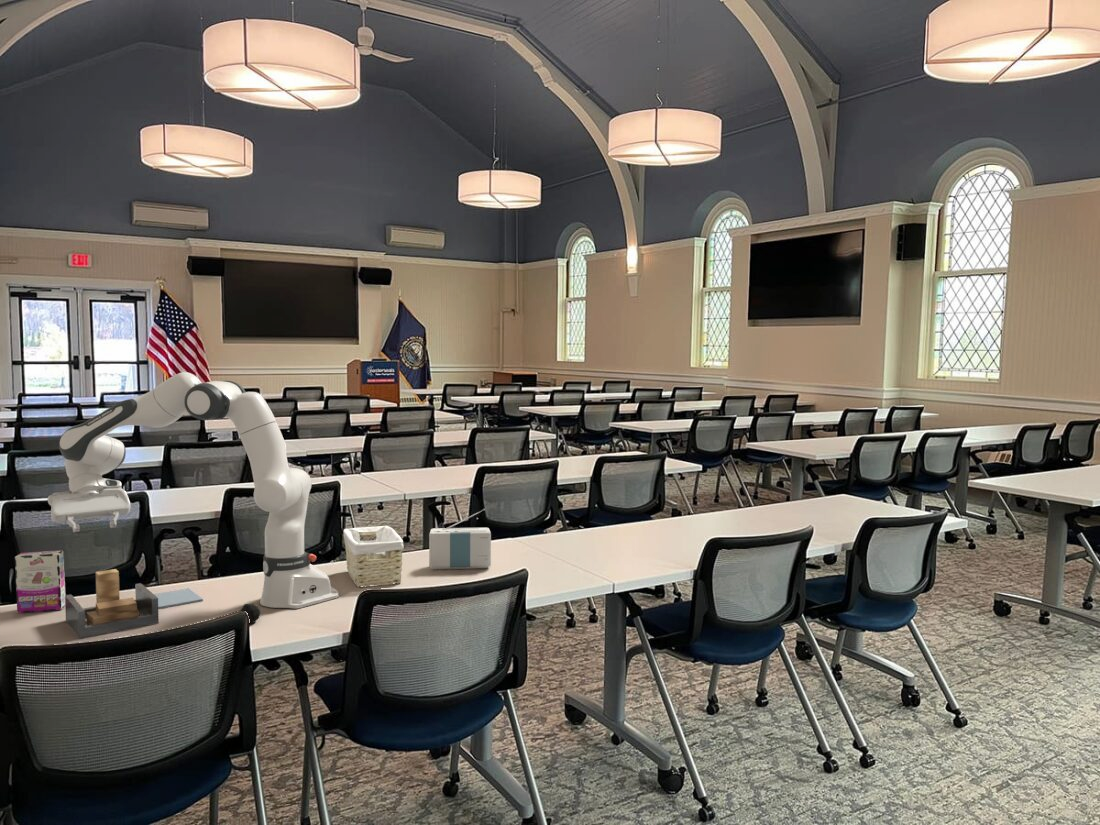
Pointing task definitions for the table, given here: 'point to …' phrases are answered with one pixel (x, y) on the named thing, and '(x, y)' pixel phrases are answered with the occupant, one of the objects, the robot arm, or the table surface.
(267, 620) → the table surface
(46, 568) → the candy bar box
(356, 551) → the storage basket
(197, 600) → the slate mat
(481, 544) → the stereo radio cassette player
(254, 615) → the microphone
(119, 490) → the robot arm
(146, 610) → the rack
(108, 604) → the offcut stack
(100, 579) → the tan wooden block
